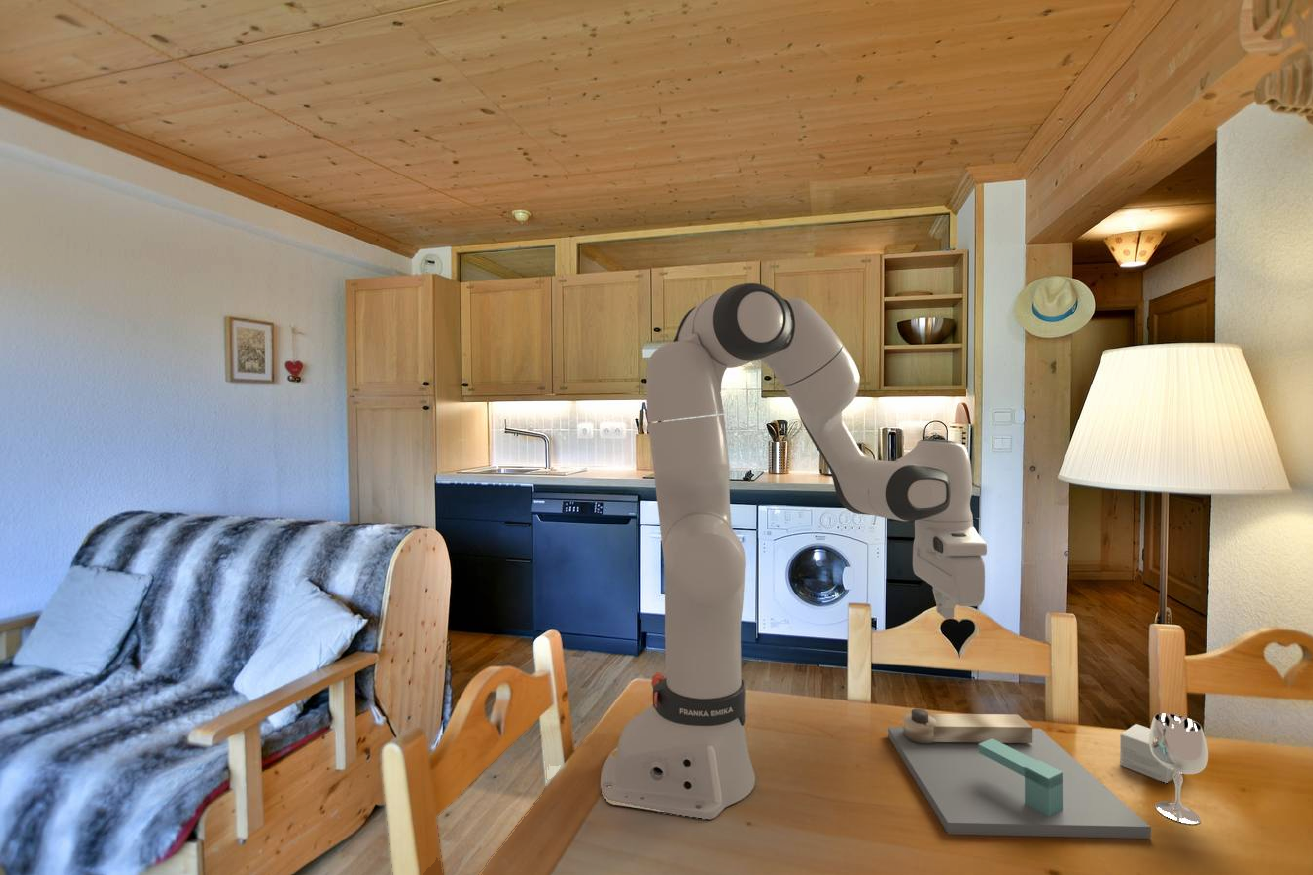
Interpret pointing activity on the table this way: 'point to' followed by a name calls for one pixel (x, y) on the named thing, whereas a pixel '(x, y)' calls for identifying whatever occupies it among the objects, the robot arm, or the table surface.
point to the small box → (1141, 754)
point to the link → (966, 727)
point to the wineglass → (1178, 758)
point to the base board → (1012, 792)
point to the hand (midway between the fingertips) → (945, 615)
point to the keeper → (1030, 776)
